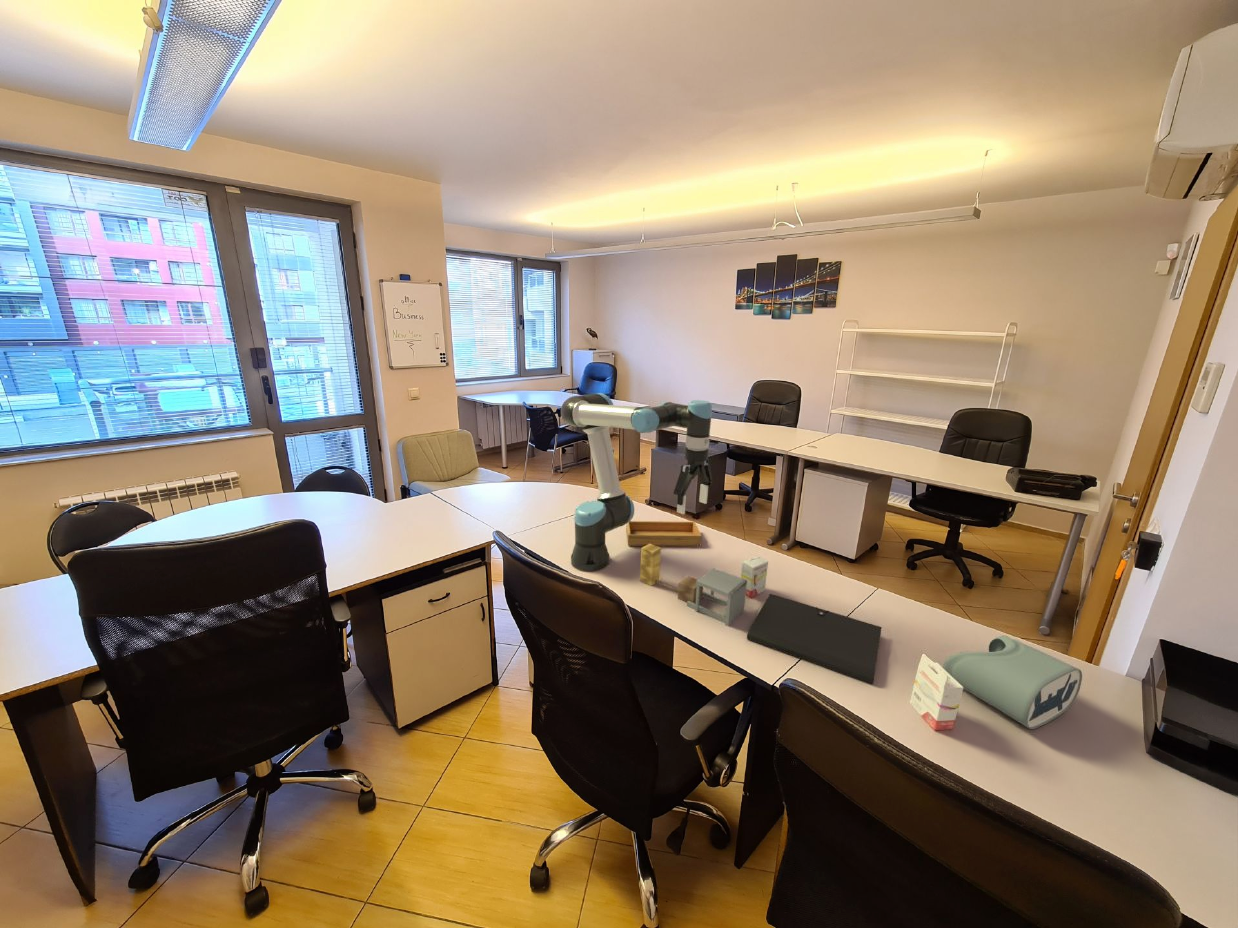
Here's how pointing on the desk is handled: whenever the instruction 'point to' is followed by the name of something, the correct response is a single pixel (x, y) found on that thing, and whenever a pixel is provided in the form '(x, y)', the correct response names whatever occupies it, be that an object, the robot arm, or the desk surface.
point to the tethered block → (652, 574)
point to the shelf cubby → (725, 586)
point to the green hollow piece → (1017, 680)
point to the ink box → (754, 575)
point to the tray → (662, 533)
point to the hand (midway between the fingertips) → (692, 507)
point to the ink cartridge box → (936, 695)
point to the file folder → (818, 636)
